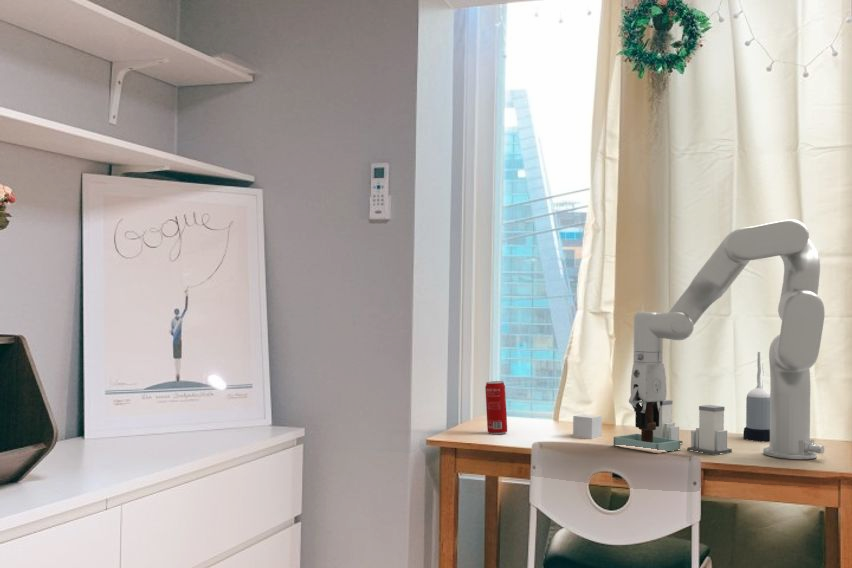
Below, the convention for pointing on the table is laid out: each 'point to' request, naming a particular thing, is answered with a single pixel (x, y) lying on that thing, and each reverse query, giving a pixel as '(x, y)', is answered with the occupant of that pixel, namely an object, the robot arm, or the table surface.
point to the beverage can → (496, 407)
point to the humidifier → (758, 412)
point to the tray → (656, 444)
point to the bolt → (648, 424)
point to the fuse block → (697, 429)
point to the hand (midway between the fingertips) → (647, 426)
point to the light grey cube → (587, 426)
